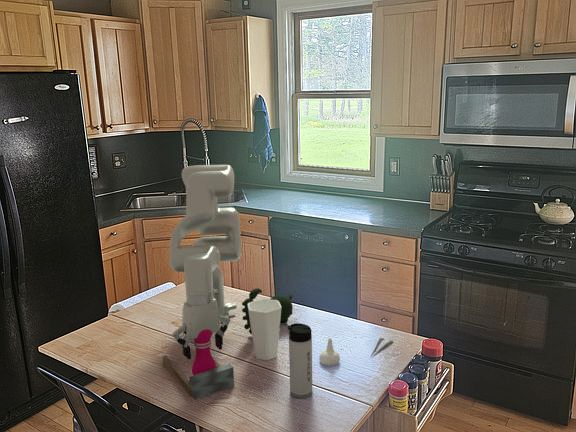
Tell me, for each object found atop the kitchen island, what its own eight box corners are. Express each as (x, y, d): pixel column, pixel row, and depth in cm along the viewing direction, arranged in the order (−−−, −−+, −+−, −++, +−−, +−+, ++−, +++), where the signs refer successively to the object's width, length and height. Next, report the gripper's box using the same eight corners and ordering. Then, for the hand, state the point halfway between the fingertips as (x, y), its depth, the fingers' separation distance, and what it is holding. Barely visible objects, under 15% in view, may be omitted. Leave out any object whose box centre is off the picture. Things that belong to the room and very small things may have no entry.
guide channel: (199, 352, 166) (198, 335, 165) (234, 385, 147) (233, 367, 145) (163, 363, 160) (161, 345, 159) (193, 400, 140) (192, 380, 139)
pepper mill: (212, 390, 144) (208, 325, 140) (188, 388, 146) (183, 323, 141) (221, 377, 151) (217, 314, 147) (198, 375, 153) (193, 313, 148)
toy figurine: (260, 349, 171) (303, 317, 189) (254, 298, 165) (300, 271, 184) (239, 342, 177) (283, 312, 195) (233, 292, 171) (279, 266, 190)
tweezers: (380, 339, 174) (380, 334, 173) (393, 343, 171) (393, 337, 171) (359, 365, 160) (359, 359, 159) (373, 369, 157) (373, 364, 157)
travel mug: (288, 386, 146) (286, 321, 141) (310, 385, 146) (310, 320, 142) (289, 399, 139) (288, 331, 135) (313, 397, 140) (313, 330, 135)
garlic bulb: (325, 370, 155) (327, 347, 153) (315, 359, 160) (316, 337, 158) (343, 365, 158) (344, 342, 155) (332, 354, 163) (333, 332, 161)
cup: (287, 350, 167) (286, 301, 163) (276, 365, 157) (275, 313, 154) (255, 345, 170) (254, 297, 167) (243, 359, 161) (241, 309, 157)
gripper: (222, 286, 150) (224, 339, 154) (165, 300, 141) (170, 356, 145) (233, 294, 144) (236, 349, 148) (175, 309, 135) (180, 367, 139)
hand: (203, 352), depth 147 cm, fingers open, 9 cm apart
